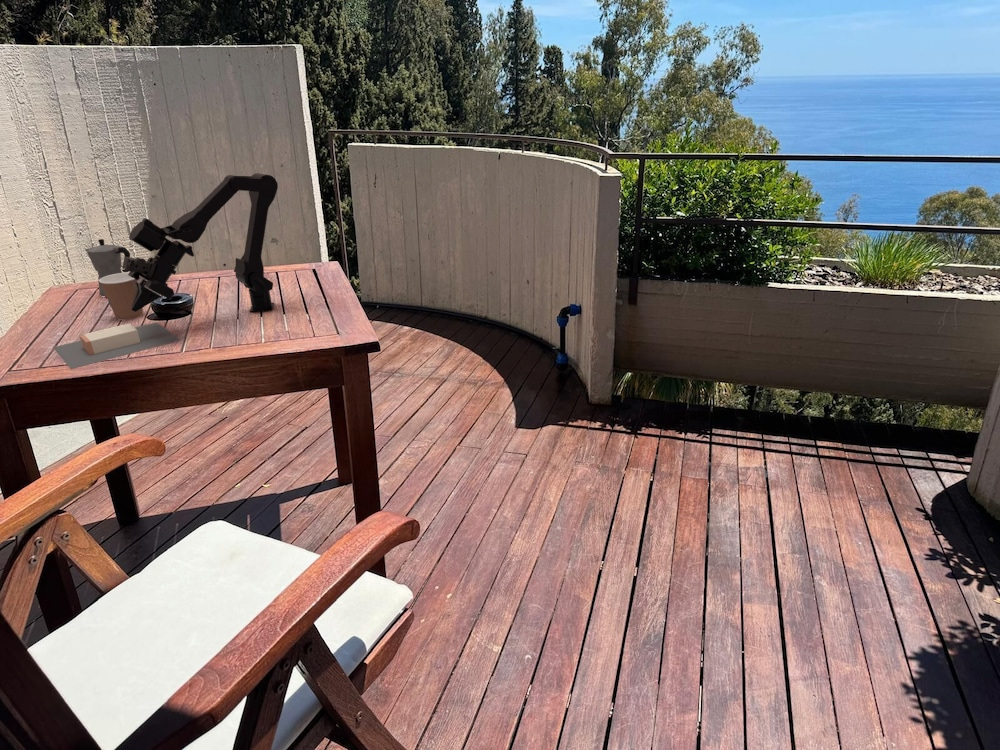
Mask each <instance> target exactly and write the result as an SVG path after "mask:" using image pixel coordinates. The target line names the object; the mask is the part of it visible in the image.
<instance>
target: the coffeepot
mask: <svg viewBox="0 0 1000 750" xmlns="http://www.w3.org/2000/svg"><path fill="white" fill-rule="evenodd" d="M97 241H98V243H99V245H96V246H93V247H88V248H86V249H84V251H85V252H86V253H87V255H88V258H89V260H90V261H91V263H92V266H93V269H94V270H95V272H97V275H98V276H97V277H98V278H97V279H98V290H99V296H100V295H101V296H105V297H106V294H105V291H104V289H103V287H102V285H101V283H100V282H99V280H100V279H101V278H103V277H105V276H108V275H112V274H118V273H130V272H129V271H126V270H125V269H122V266H123V262H122V254H123V255H124V257H131V253H130V251H129V250H128V249H127V248H126V247H125V246H120V245H115V244H105V239H101V238H100V239H98V240H97ZM124 257H123V258H124ZM101 296H100V297H101Z"/></svg>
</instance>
